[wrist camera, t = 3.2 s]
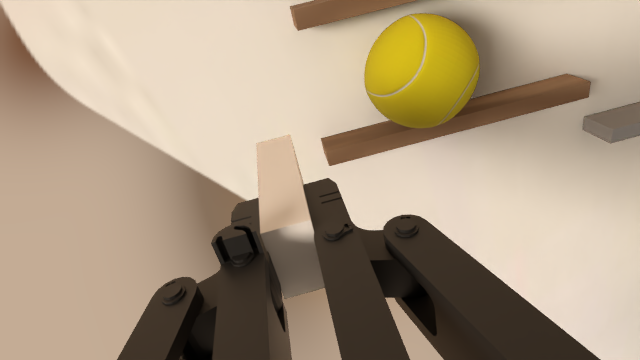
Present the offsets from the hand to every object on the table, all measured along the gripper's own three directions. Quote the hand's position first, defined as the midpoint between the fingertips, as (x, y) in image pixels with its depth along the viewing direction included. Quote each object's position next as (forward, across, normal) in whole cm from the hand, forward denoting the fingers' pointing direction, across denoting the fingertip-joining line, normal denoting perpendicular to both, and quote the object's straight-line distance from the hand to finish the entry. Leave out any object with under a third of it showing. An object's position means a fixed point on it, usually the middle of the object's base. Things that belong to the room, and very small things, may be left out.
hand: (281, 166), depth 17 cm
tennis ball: (+12, -10, 0) cm, 16 cm away
